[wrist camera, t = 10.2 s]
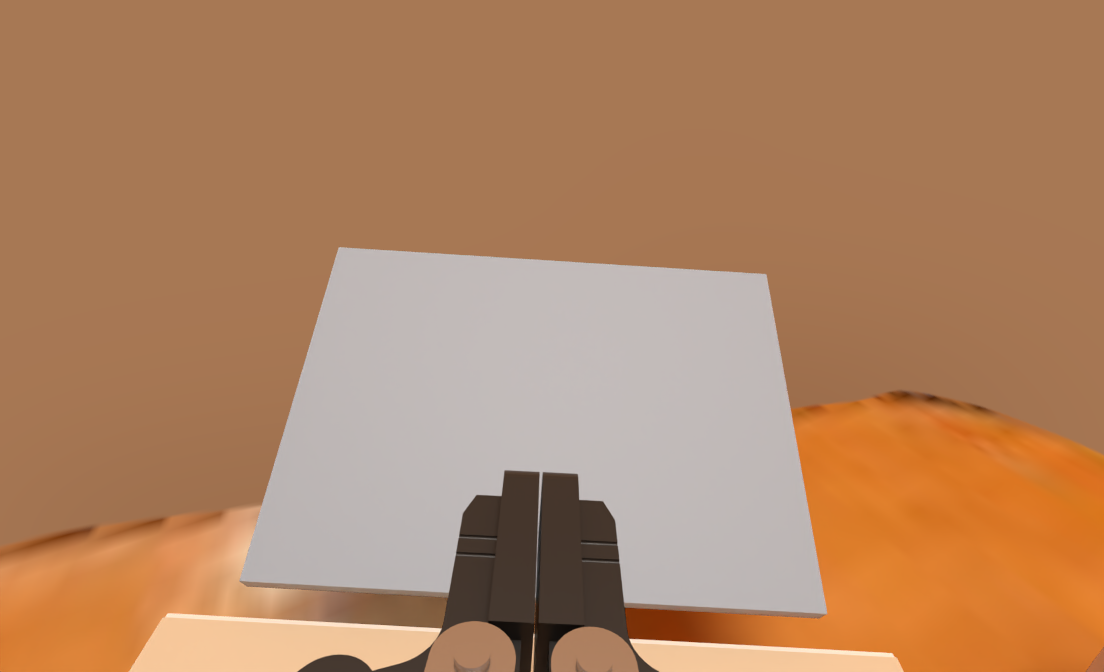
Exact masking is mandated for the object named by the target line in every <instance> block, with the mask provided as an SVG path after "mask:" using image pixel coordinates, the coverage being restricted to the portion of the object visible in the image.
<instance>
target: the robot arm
mask: <svg viewBox="0 0 1104 672" xmlns="http://www.w3.org/2000/svg"><path fill="white" fill-rule="evenodd" d="M539 479H540V472H531V471H512V470H505V471H504V479H503V488H502V496H491V495H476V496H475V498H474V499H473V500H472V502H471V503H470V504H469V506H468V507H467V508H466V510H465V511H464V512H463V515H462V521H461V527H460V533H459V538H458V544H457V550H456V556H455V561H454V567H453V572H452V578H451V584H450V589H449V595H448V601H447V607H446V612H445V618H444V623H443V626H442V629H441V631H440V633H439V635H438V637H437V638H436V640H435V641H434V642H433V643H432V644H431V646H430V647H429V648H427V649H426V650H425V651H424V652H423V653H421V654H419V655H418V656H416V657H415V658H412V659H410V660H408V661H406V662H403V663H400V664H396V665H392V666H388V667H385V668H381V669H377V670H373V671H372V670H371V668H370V667H369V666H368V665H367V664H366V663H365V662H363V661H362V660H360V659H358V658H356V657H353V656H350V655H342V654H339V655H330V656H325V657H322V658H319V659H316V660H314V661H312V662H311V663H309V664H307V665H306V666H304V667H303V668H301V669H300V670H299V671H298V672H531V663H532V649H533V635H534V663H533V672H659V671H657V670H656V669H654V668H652V667H651V666H650V665H649V664H647V663H646V662H645V661H644V660H643V659H642V658H641V657H640V656H639V655H638V653H637V652H636V651H635V649H634V648H633V646H632V644H631V642H630V639H629V637H628V632H627V626H626V616H625V607H624V598H623V588H622V579H621V569H620V564H619V551H618V546H617V543H618V541H617V532H616V523H615V519H614V518H613V516H612V515H611V513H610V511H609V510H608V508H607V507H606V505H605V504H604V502H603V501H592V500H579V481H578V474H572V473H553V472H543V474H542V487H541V502H540V516H539V531H538V507H539ZM537 535H538V549H537ZM536 564H537V576H536ZM535 592H536V605H535ZM534 620H535V634H534Z"/></svg>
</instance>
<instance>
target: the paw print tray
mask: <svg viewBox="0 0 1104 672" xmlns="http://www.w3.org/2000/svg"><path fill="white" fill-rule="evenodd" d="M1086 672H1104V647H1103V649H1102V650H1101V652H1100V653H1099V654H1098V655H1097V657H1096V658H1095V659H1094V661H1093V662H1092V664H1091V665H1090V666H1089V668H1088V669H1087V671H1086Z"/></svg>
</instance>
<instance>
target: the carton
mask: <svg viewBox="0 0 1104 672" xmlns="http://www.w3.org/2000/svg"><path fill="white" fill-rule="evenodd" d="M441 629H442V628H424V627H406V626H388V625H370V624H352V623H334V622H316V621H297V620H279V619H261V618H243V617H225V616H207V615H189V614H170V613H168V614H167V615H166V617H163V618H162V620H161V621H160V623H159V624H158V626H157V628H156V629H155V631H154V632H153V634H152V636H151V637H150V639H149V640H148V642H147V644H146V645H145V647H144V648H143V650H142V652H141V653H140V655H139V656H138V658H137V660H136V661H135V663H134V664H133V666H132V667H131V669H130V671H129V672H298V671H299V670H300V669H301V668H303V667H304V666H306V665H307V664H309V663H311V662H312V661H314V660H316V659H319V658H322V657H325V656H330V655H339V654H342V655H350V656H353V657H356V658H358V659H360V660H362V661H363V662H365V663H366V664H367V665H368V666H369V667H370V668H371V670H372V671H373V670H377V669H381V668H385V667H388V666H392V665H396V664H400V663H403V662H406V661H408V660H410V659H412V658H415V657H416V656H418V655H419V654H421V653H423V652H424V651H425V650H426V649H427V648H429V647H430V646H431V644H432V643H433V642H434V641H435V640H436V638H437V637H438V635H439V633H440V631H441ZM630 642H631V644H632V646H633V648H634V649H635V651H636V652H637V653H638V655H639V656H640V657H641V658H642V659H643V660H644V661H645V662H646V663H647V664H649V665H650V666H651V667H652V668H654V669H656V670H657V671H659V672H904V671H903V669H902V667H901V665H900V663H899V661H898V659H897V657H894V655H893V653H878V652H860V651H842V650H824V649H806V648H788V647H769V646H751V645H733V644H715V643H697V642H679V641H660V640H642V639H630ZM533 663H534V635H533V649H532V663H531V672H533Z"/></svg>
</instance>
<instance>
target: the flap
mask: <svg viewBox="0 0 1104 672" xmlns="http://www.w3.org/2000/svg"><path fill="white" fill-rule="evenodd" d="M505 470H512V471H531V472H540V479H539V507H538V531H539V516H540V502H541V487H542V474H543V472H553V473H572V474H578V481H579V500H592V501H603V502H604V504H605V505H606V507H607V508H608V510H609V511H610V513H611V515H612V516H613V518H614V519H615V523H616V532H617V541H618V543H617V546H618V551H619V564H620V569H621V579H622V588H623V598H624V607H625V608H642V609H659V610H677V611H695V612H713V613H731V614H749V615H767V616H785V617H803V618H821V617H822V616H824V615H826V614H827V610H826V604H825V599H824V593H823V587H822V582H821V576H820V571H819V565H818V560H817V554H816V549H815V543H814V537H813V532H812V526H811V521H810V515H809V510H808V504H807V498H806V493H805V487H804V482H803V476H802V471H801V465H800V460H799V454H798V448H797V443H796V437H795V432H794V426H793V421H792V415H791V409H790V404H789V398H788V393H787V387H786V382H785V376H784V371H783V365H782V360H781V355H780V348H779V343H778V337H777V332H776V327H775V321H774V315H773V309H772V304H771V299H770V293H769V287H768V283H767V276H766V274H753V273H736V272H721V271H706V270H704V271H703V270H690V269H674V268H657V267H642V266H626V265H610V264H595V263H579V262H578V263H577V262H562V261H546V260H531V259H514V258H498V257H483V256H466V255H450V254H436V253H435V254H434V253H420V252H404V251H388V250H372V249H356V248H340V247H339V249H338V253H337V256H336V259H335V263H334V266H333V269H332V273H331V276H330V279H329V283H328V286H327V289H326V293H325V296H324V299H323V303H322V306H321V309H320V313H319V316H318V319H317V323H316V326H315V330H314V333H313V336H312V339H311V343H310V346H309V350H308V353H307V357H306V360H305V363H304V367H303V370H302V373H301V376H300V380H299V383H298V386H297V390H296V393H295V396H294V400H293V404H292V407H291V410H290V413H289V417H288V420H287V423H286V427H285V430H284V434H283V437H282V441H281V444H280V447H279V451H278V454H277V457H276V460H275V464H274V467H273V470H272V474H271V477H270V480H269V484H268V487H267V490H266V494H265V497H264V500H263V504H262V507H261V511H260V514H259V517H258V521H257V524H256V527H255V531H254V534H253V537H252V541H251V544H250V547H249V551H248V554H247V557H246V561H245V564H244V568H243V571H242V574H241V578H240V582H241V583H243V584H244V585H246V586H247V587H265V588H283V589H301V590H319V591H337V592H354V593H372V594H390V595H408V596H426V597H444V598H448V595H449V589H450V584H451V578H452V572H453V567H454V561H455V556H456V550H457V544H458V538H459V533H460V527H461V521H462V515H463V512H464V511H465V510H466V508H467V507H468V506H469V504H470V503H471V502H472V500H473V499H474V498H475V496H476V495H491V496H502V488H503V479H504V471H505ZM537 549H538V535H537ZM536 576H537V564H536ZM535 603H536V592H535Z"/></svg>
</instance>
